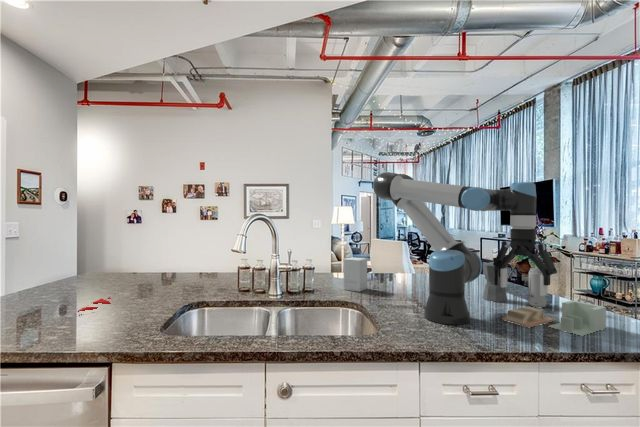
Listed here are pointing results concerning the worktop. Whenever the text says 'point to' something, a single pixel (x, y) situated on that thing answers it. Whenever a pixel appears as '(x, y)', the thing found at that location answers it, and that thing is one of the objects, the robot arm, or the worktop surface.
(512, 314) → the beech bar
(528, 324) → the terracotta tile
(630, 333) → the worktop surface
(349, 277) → the supplement box
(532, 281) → the energy drink can
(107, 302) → the cloth
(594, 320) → the pocket block
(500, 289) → the coffeepot
